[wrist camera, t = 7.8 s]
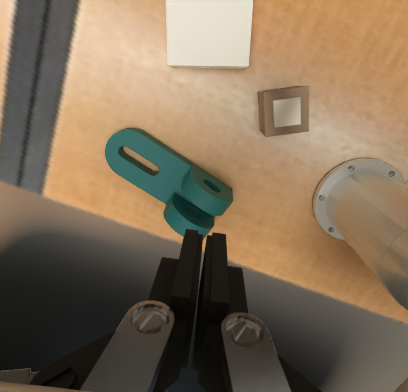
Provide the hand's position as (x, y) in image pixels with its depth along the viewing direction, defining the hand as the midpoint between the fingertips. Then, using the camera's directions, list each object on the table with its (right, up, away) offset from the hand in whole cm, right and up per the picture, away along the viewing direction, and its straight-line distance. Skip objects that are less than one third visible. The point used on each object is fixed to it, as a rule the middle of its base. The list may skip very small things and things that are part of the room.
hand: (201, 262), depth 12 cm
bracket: (-5, +6, +30) cm, 31 cm away
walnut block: (+10, +14, +25) cm, 31 cm away
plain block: (+1, +23, +22) cm, 32 cm away
